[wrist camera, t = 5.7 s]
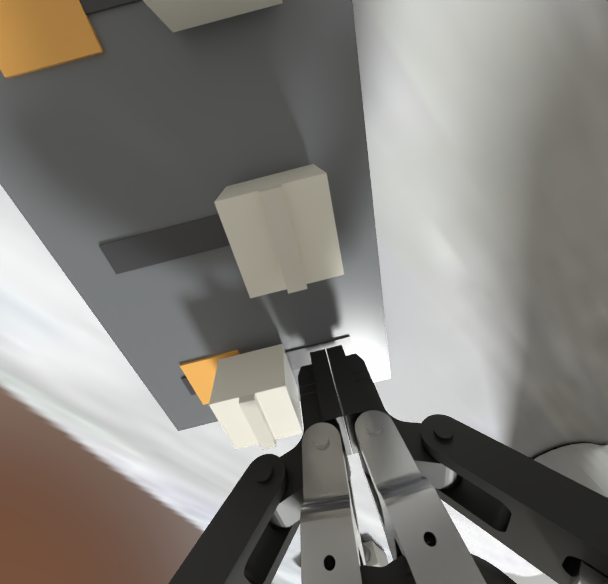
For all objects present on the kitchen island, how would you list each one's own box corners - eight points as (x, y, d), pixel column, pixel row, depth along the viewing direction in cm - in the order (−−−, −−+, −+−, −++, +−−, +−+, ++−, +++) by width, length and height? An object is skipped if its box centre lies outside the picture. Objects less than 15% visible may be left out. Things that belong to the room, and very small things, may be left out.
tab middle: (313, 163, 10) (328, 174, 7) (329, 246, 11) (346, 278, 9) (225, 186, 10) (212, 204, 7) (253, 266, 11) (249, 303, 9)
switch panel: (307, -209, 8) (321, -321, 6) (378, 353, 17) (391, 380, 16) (-127, -88, 8) (-253, -158, 6) (187, 401, 18) (177, 433, 16)
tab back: (282, 343, 13) (285, 391, 11) (297, 388, 15) (303, 439, 12) (218, 359, 13) (207, 411, 11) (240, 402, 15) (234, 456, 12)
